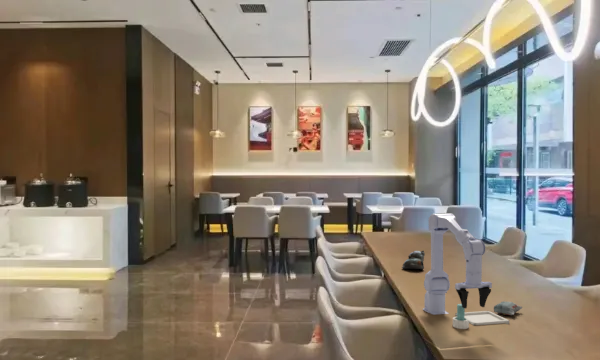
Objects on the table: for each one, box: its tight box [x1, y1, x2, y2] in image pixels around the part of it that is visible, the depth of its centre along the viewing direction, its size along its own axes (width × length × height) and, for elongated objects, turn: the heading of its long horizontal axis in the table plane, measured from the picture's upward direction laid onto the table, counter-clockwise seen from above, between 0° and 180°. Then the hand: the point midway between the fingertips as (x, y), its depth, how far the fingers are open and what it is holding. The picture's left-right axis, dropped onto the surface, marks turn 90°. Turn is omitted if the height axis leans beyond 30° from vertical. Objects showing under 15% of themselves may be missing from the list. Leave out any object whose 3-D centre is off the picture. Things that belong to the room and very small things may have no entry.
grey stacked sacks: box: [401, 250, 425, 271], centre depth 311 cm, size 15×12×14 cm
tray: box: [455, 310, 510, 326], centre depth 206 cm, size 14×16×2 cm
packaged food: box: [493, 300, 523, 316], centre depth 216 cm, size 9×12×5 cm
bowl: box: [452, 316, 470, 330], centre depth 196 cm, size 6×6×4 cm
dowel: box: [456, 303, 466, 321], centre depth 196 cm, size 3×3×8 cm
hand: (473, 307), depth 189 cm, fingers open, 7 cm apart
